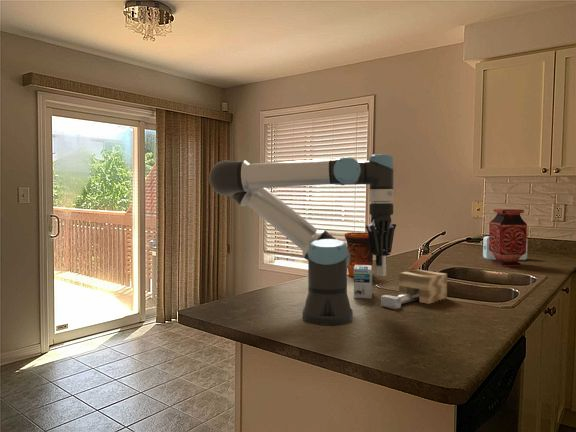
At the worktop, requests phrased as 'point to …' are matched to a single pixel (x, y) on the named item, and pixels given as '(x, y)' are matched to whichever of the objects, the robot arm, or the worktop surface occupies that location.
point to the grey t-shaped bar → (398, 300)
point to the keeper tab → (419, 262)
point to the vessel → (358, 250)
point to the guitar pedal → (489, 255)
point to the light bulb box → (363, 281)
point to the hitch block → (424, 285)
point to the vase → (507, 237)
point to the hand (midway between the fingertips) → (381, 275)
